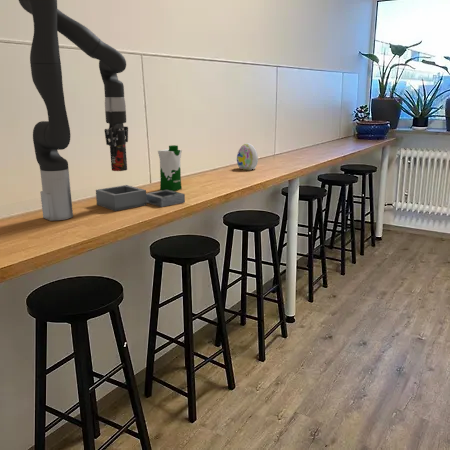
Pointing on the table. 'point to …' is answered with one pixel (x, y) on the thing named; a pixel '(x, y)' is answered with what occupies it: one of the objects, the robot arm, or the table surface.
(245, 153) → the decorative egg
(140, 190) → the bin
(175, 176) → the milk carton
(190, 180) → the table surface
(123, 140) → the deodorant
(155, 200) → the socket collar
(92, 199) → the table surface
